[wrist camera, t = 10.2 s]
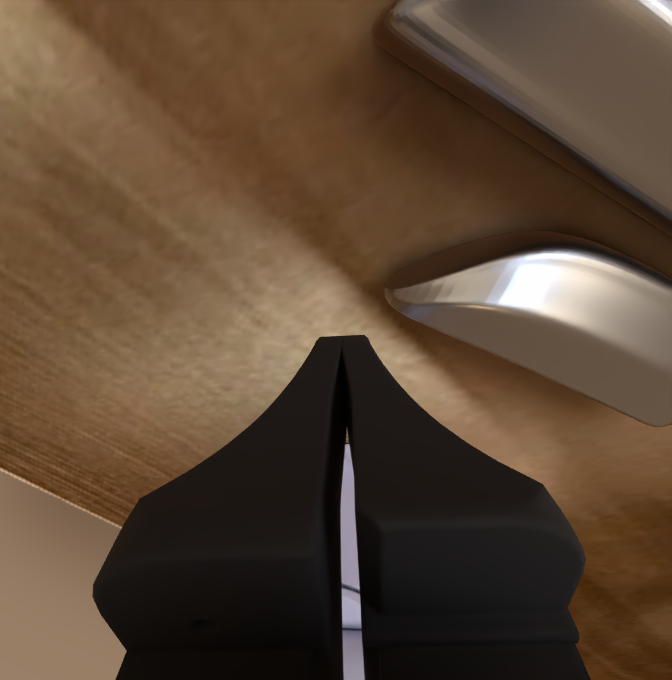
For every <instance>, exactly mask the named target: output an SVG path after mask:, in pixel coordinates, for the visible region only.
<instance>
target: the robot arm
mask: <svg viewBox="0 0 672 680" xmlns="http://www.w3.org/2000/svg"><path fill="white" fill-rule="evenodd" d="M346 430H348V437H349V444H345V442H346ZM585 561H586V558H585V555H584V551H583V548H582V545H581V543H580V542H579V540H578V538H577V536H576V534H575V532H574V531H573V529H572V527H571V525H570V523H569V522H568V520H567V519H566V517H565V516H564V514H563V513H562V511H561V509H560V508H559V506H558V505H557V504H556V502H555V501H554V500H553V498H552V497H551V495H550V494H549V493H548V491H547V490H546V488H545V487H544V485H543V484H541V483H539V482H537V481H536V480H534V479H532V478H530V477H528V476H526V475H524V474H522V473H520V472H518V471H516V470H514V469H512V468H510V467H508V466H506V465H504V464H502V463H500V462H498V461H496V460H495V459H493V458H491V457H490V456H488V455H486V454H485V453H483V452H481V451H480V450H478V449H476V448H475V447H473V446H471V445H470V444H468V443H467V442H465V441H464V440H462V439H461V438H459V437H458V436H457V435H455V434H454V433H453V432H451V431H450V430H448V429H447V428H446V427H444V426H443V425H441V424H440V423H439V422H438V421H436V420H435V419H434V418H433V417H432V416H430V415H429V414H428V413H427V412H426V411H425V410H424V409H423V408H422V407H420V406H419V405H418V404H417V403H416V402H415V401H414V400H413V399H412V398H411V397H410V396H409V395H408V394H407V392H406V391H405V390H404V389H403V388H402V387H401V386H400V385H399V384H398V382H397V381H396V380H395V379H394V378H393V376H392V375H391V374H390V372H389V371H388V370H387V368H386V367H385V366H384V365H383V363H382V362H381V360H380V359H379V357H378V356H377V354H376V353H375V351H374V349H373V348H372V346H371V344H370V342H369V339H368V338H367V337H366V336H365V335H351V336H331V337H320V338H319V339H318V340H317V341H316V343H315V345H314V347H313V349H312V350H311V352H310V354H309V355H308V357H307V359H306V360H305V362H304V363H303V365H302V366H301V368H300V369H299V371H298V372H297V373H296V375H295V376H294V378H293V379H292V380H291V382H290V383H289V384H288V385H287V387H286V388H285V389H284V390H283V391H282V393H281V394H280V395H279V396H278V398H277V399H276V400H275V401H274V402H273V403H272V404H271V405H270V406H269V407H268V409H267V410H266V411H265V412H264V413H263V414H262V415H261V416H260V417H259V418H258V419H257V420H256V421H254V422H253V423H252V424H251V425H250V426H249V427H248V428H246V429H245V430H244V431H243V432H242V433H240V434H239V435H238V436H237V437H236V438H234V439H233V440H232V441H231V442H230V443H228V444H227V445H226V446H224V447H223V448H221V449H220V450H219V451H217V452H216V453H215V454H213V455H212V456H210V457H209V458H207V459H206V460H204V461H203V462H201V463H200V464H198V465H197V466H195V467H194V468H192V469H191V470H189V471H187V472H186V473H184V474H183V475H181V476H179V477H177V478H176V479H174V480H172V481H170V482H169V483H167V484H165V485H163V486H162V487H160V488H158V489H156V490H155V491H153V492H151V493H149V494H148V495H146V496H144V497H142V498H140V499H139V501H138V502H137V504H136V506H135V507H134V509H133V510H132V512H131V514H130V515H129V517H128V518H127V520H126V521H125V523H124V525H123V527H122V529H121V531H120V533H119V535H118V536H117V539H116V540H115V542H114V544H113V547H112V548H111V550H110V552H109V554H108V556H107V558H106V560H105V562H104V564H103V566H102V568H101V570H100V572H99V574H98V576H97V578H96V580H95V582H94V584H93V599H94V601H95V603H96V605H97V608H98V610H99V612H100V614H101V616H102V617H103V618H104V620H105V621H106V622H107V624H108V625H109V627H110V628H111V629H112V631H113V632H114V634H115V635H116V636H117V638H118V639H119V640H120V642H121V643H122V645H123V646H124V647H125V649H126V650H127V652H126V654H125V657H124V659H123V662H122V665H121V667H120V670H119V672H118V675H117V677H116V680H591V679H590V677H589V675H588V672H587V670H586V668H585V666H584V663H583V661H582V659H581V656H580V654H579V652H578V649H577V647H576V645H575V643H578V641H579V633H578V630H577V628H576V626H575V623H574V621H573V619H572V617H571V615H570V612H569V610H568V608H567V607H568V605H569V603H570V601H571V598H572V596H573V594H574V592H575V590H576V587H577V585H578V583H579V581H580V579H581V576H582V574H583V571H584V566H585Z"/></svg>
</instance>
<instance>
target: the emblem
mask: <svg viewBox="0 0 672 680" xmlns="http://www.w3.org/2000/svg"><path fill="white" fill-rule="evenodd" d="M372 37H373V39H374V40H375V41H376V42H377V43H378V44H379V45H380V46H381V47H382V48H384V49H385V50H386V51H388V52H389V53H390V54H392V55H393V56H395V57H396V58H398V59H399V60H401V61H402V62H404V63H405V64H407V65H408V66H410V67H411V68H413V69H414V70H416V71H417V72H419V73H420V74H422V75H423V76H425V77H426V78H428V79H429V80H431V81H433V82H434V83H436V84H437V85H439V86H440V87H442V88H443V89H445V90H446V91H448V92H449V93H451V94H452V95H454V96H455V97H457V98H459V99H460V100H462V101H463V102H465V103H466V104H468V105H469V106H471V107H472V108H474V109H475V110H477V111H478V112H480V113H481V114H483V115H485V116H486V117H488V118H489V119H491V120H492V121H494V122H495V123H497V124H498V125H500V126H501V127H503V128H504V129H506V130H507V131H509V132H511V133H512V134H514V135H515V136H517V137H518V138H520V139H521V140H523V141H524V142H526V143H527V144H529V145H530V146H532V147H534V148H535V149H537V150H538V151H540V152H541V153H543V154H544V155H546V156H547V157H549V158H550V159H552V160H553V161H555V162H557V163H558V164H560V165H561V166H563V167H564V168H566V169H567V170H569V171H570V172H572V173H573V174H575V175H577V176H578V177H580V178H581V179H583V180H584V181H586V182H587V183H589V184H590V185H592V186H593V187H595V188H597V189H598V190H600V191H601V192H603V193H604V194H606V195H607V196H609V197H610V198H612V199H614V200H615V201H617V202H618V203H620V204H621V205H623V206H624V207H626V208H627V209H629V210H631V211H632V212H634V213H635V214H637V215H638V216H640V217H641V218H643V219H644V220H646V221H648V222H649V223H651V224H652V225H654V226H655V227H657V228H658V229H660V230H662V231H663V232H665V233H666V234H668V235H669V236H671V237H672V0H391V1H390V3H389V4H388V5H387V6H386V7H385V8H384V9H383V11H382V12H381V13H380V15H379V16H378V17H377V19H376V21H375V22H374V24H373V27H372ZM384 293H385V298H386V300H387V301H388V302H389V304H390V305H391V306H392V307H393V308H395V309H396V310H397V311H399V312H400V313H402V314H404V315H405V316H407V317H409V318H411V319H413V320H415V321H417V322H420V323H422V324H424V325H426V326H428V327H431V328H433V329H435V330H438V331H440V332H442V333H444V334H447V335H449V336H451V337H454V338H456V339H458V340H461V341H463V342H466V343H468V344H470V345H473V346H475V347H477V348H480V349H482V350H484V351H486V352H489V353H491V354H493V355H496V356H498V357H500V358H503V359H505V360H507V361H509V362H512V363H514V364H516V365H519V366H521V367H523V368H525V369H528V370H530V371H532V372H534V373H536V374H539V375H541V376H543V377H545V378H547V379H550V380H552V381H554V382H556V383H558V384H560V385H563V386H565V387H567V388H569V389H571V390H574V391H576V392H578V393H580V394H582V395H584V396H586V397H589V398H591V399H593V400H595V401H597V402H599V403H601V404H604V405H606V406H608V407H610V408H612V409H614V410H616V411H618V412H621V413H623V414H625V415H627V416H629V417H631V418H633V419H636V420H638V421H640V422H642V423H645V424H647V425H650V426H654V427H663V426H667V425H671V424H672V279H671V278H669V277H668V276H666V275H664V274H662V273H660V272H658V271H656V270H655V269H653V268H651V267H649V266H647V265H645V264H643V263H641V262H639V261H637V260H635V259H633V258H631V257H629V256H626V255H624V254H622V253H620V252H618V251H615V250H613V249H611V248H609V247H606V246H603V245H601V244H598V243H595V242H593V241H590V240H587V239H583V238H580V237H577V236H572V235H568V234H563V233H557V232H549V231H521V232H513V233H506V234H501V235H496V236H491V237H487V238H483V239H479V240H476V241H472V242H469V243H466V244H462V245H459V246H456V247H453V248H450V249H448V250H445V251H442V252H439V253H437V254H434V255H432V256H429V257H427V258H425V259H422V260H420V261H418V262H416V263H414V264H412V265H409V266H407V267H406V268H404V269H402V270H400V271H398V272H397V273H395V274H394V275H392V276H391V277H390V278H389V279H387V280H386V282H385V283H384Z"/></svg>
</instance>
